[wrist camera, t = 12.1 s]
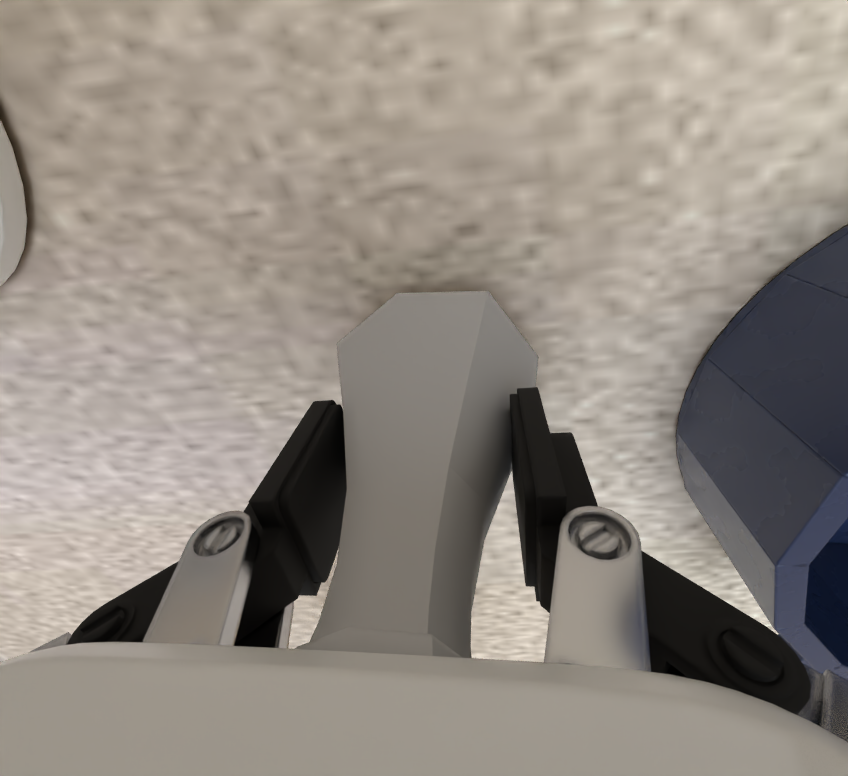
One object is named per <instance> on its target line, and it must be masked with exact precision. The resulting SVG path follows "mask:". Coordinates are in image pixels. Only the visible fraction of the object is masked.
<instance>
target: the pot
mask: <svg viewBox="0 0 848 776" xmlns="http://www.w3.org/2000/svg"><path fill="white" fill-rule="evenodd" d="M676 446H677V458H678V462H679V466H680V470H681V474H682V476H683V478H684V485H685V489H686V491H687V492H688V494H689V496H690V497H691V499H692V500H693V502H694V503H695V505H696V507H697V508H698V510H699V511H700V513H701V514H702V516H703V518H704V519H705V521H706V522H707V524H708V525H709V527H710V529H711V530H712V532H713V533H714V535H715V536H716V538H717V540H718V541H719V543H720V544H721V546H722V548H723V549H724V551H725V552H726V554H727V555H728V557H729V559H730V560H731V562H732V563H733V565H734V566H735V568H736V570H737V571H738V573H739V574H740V576H741V577H742V579H743V581H744V582H745V584H746V585H747V587H748V588H749V590H750V592H751V593H752V595H753V596H754V598H755V599H756V601H757V603H758V604H759V606H760V607H761V609H762V611H763V612H764V614H765V615H766V617H767V618H768V620H769V622H770V623H771V625H772V626H773V628H774V629H775V630H776V631H777V632H778V633H779V634H778V636H780V637H781V638H782V639H783V640H784V641H785V642H786V643H787V644H788V645H789V646H790V647H791V648H792V649H793V650H794V652H795V653H796V654H797V656H798V657H799V659H800V660H801V662H802V663H803V664H805V665H807V666H809V667H810V668H812V669H814V670H816V671H818V672H820V673H821V674H823V673H824V672H825V670H826V669H828V670H830V671H832V672H833V673H835V674H837V675H839V676H841V677H843V678H845V679H847V680H848V225H847V226H845V227H844V228H842V229H840V230H839V231H837V232H835V233H834V234H832V235H831V236H830V237H828V238H827V239H825V240H824V241H822V242H821V243H820V244H818V245H817V246H815V247H814V248H813V249H811V250H810V251H808V252H807V253H805V254H804V255H803V256H801V257H800V258H798V259H797V260H796V261H795V262H793V263H792V264H791V265H790V266H789V267H787V268H786V269H785V270H784V271H783V272H781V273H780V274H779V275H778V276H777V277H776V278H774V279H773V280H772V281H771V282H770V283H768V284H767V285H766V286H765V287H764V288H763V289H762V290H761V291H760V292H759V293H758V294H757V295H756V296H755V297H754V298H753V299H752V300H751V301H750V302H749V303H748V304H747V305H746V306H745V307H744V308H743V309H742V310H741V311H740V312H739V313H738V314H737V315H736V316H735V317H734V319H733V320H732V321H731V322H730V323H729V325H728V326H727V327H726V328H725V330H724V331H723V332H722V333H721V335H720V336H719V337H718V338H717V339H716V341H715V342H714V344H713V345H712V347H711V348H710V350H709V351H708V353H707V354H706V356H705V357H704V359H703V360H702V362H701V364H700V365H699V367H698V369H697V371H696V373H695V375H694V377H693V379H692V381H691V383H690V385H689V387H688V389H687V391H686V394H685V398H684V401H683V404H682V407H681V410H680V413H679V419H678V426H677V433H676Z"/></svg>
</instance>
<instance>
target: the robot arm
mask: <svg viewBox="0 0 848 776" xmlns="http://www.w3.org/2000/svg"><path fill="white" fill-rule="evenodd" d="M26 227H27V215H26V206H25V197H24V188H23V183H22V179H21V176H20V172H19V169H18V165H17V162H16V158H15V155H14V151H13V148H12V145H11V143H10V140H9V138H8V136H7V133H6V131H5V129H4V126H3V124H2V122H1V120H0V286H1V285H3V283H4V282H5V281H6V280H7V279H8V278H9V277H10V275H11V274H12V273H13V272H14V271H15V270H16V267H17V265H18V262H19V260H20V257H21V255H22V252H23V250H24V246H25V236H26ZM510 415H511V427H512V472H513V482H514V491H515V499H516V508H517V516H518V525H519V533H520V542H521V550H522V559H523V567H524V576H525V583H526V586H535V593H536V601H540V605H541V606H542V607H543V608H544V609H546V610H547V611H548V612H549V613H550V616H549V624H548V632H547V641H546V649H545V657H544V663H543V662H529V661H511V660H494V659H476V658H458V657H440V656H423V655H405V654H385V653H366V652H347V651H327V650H307V649H288V644H289V637H290V630H291V623H292V616H293V609H294V602H293V601H295V600H296V599H298V596H299V595H314V596H317V593H318V590H319V587H320V584H321V582H326V580H327V579H328V576H329V574H330V571H331V568H332V565H333V562H334V559H335V556H336V553H337V550H338V547H339V544H340V536H341V529H342V521H343V514H344V507H345V499H346V492H347V479H346V459H345V438H344V418H343V409H342V407H341V405H339V404H338V405H336V403H335V402H334V401H333V400H327V401H315V402H313V403H312V405H311V406H310V408H309V409H308V411H307V412H306V414H305V415H304V417H303V418H302V420H301V422H300V423H299V425H298V426H297V428H296V429H295V431H294V432H293V434H292V435H291V437H290V439H289V440H288V442H287V443H286V445H285V446H284V448H283V449H282V451H281V452H280V454H279V456H278V457H277V459H276V460H275V462H274V463H273V465H272V466H271V468H270V470H269V471H268V473H267V474H266V476H265V477H264V479H263V480H262V482H261V483H260V485H259V487H258V488H257V490H256V491H255V493H254V494H253V496H252V497H251V499H250V500H249V504H248V506H247V507H246V509H245V510H244V512H241V511H229V512H225V513H222V514H219V515H217V516H215V517H213V518H211V519H209V520H208V521H206V522H205V523H204V524H202V525H201V526H200V527H199V528H198V529H197V530H196V531H195V532H194V533H193V534H192V536H191V537H190V539H189V541H188V542H187V544H186V547H185V549H184V551H183V553H182V556H181V558H180V560H179V561H178V562H177V563H175V564H173V565H171V566H170V567H168V568H166V569H165V570H163V571H161V572H159V573H158V574H156V575H154V576H152V577H151V578H149V579H147V580H146V581H144V582H142V583H140V584H139V585H137V586H135V587H134V588H132V589H130V590H128V591H127V592H125V593H123V594H121V595H120V596H118V597H116V598H115V599H113V600H111V601H109V602H108V603H106V604H104V605H103V606H101V607H100V608H99V609H97V610H96V611H94V612H93V613H92V614H91V615H90V616H88V617H87V618H86V619H85V620H84V621H83V622H82V623H81V624H80V625H79V627H78V628H77V629H76V630H75V631H74V633H73V634H72V635H71V634H70V633H69V632H68V633H66V634H64V635H62V636H60V637H58V638H56V639H54V640H52V641H50V642H48V643H46V644H44V645H42V646H40V647H38V648H36V649H34V650H32V651H30V652H29V653H26V654H22V655H20V656H17V657H14V658H11V659H8V660H5V661H2V662H0V776H848V680H847V679H845V678H843V677H841V676H839V675H837V674H835V673H833V672H832V671H830V670H828V669H826V670H825V672H824V673H823V674H821V673H820V672H818V671H816V670H814V669H812V668H810V667H809V666H807V665H805V664H803V663H802V662H801V660H800V659H799V657H798V656H797V654H796V653H795V652H794V650H793V649H792V648H791V647H790V646H789V645H788V644H787V643H786V642H785V641H784V640H783V639H782V638H781V637H780V636H778V635H777V634H775V633H774V632H773V631H771V630H770V629H769V628H767V627H766V626H764V625H763V624H761V623H759V622H758V621H756V620H755V619H753V618H751V617H750V616H748V615H746V614H745V613H743V612H741V611H740V610H738V609H736V608H735V607H733V606H732V605H730V604H728V603H727V602H725V601H723V600H722V599H720V598H718V597H717V596H715V595H713V594H712V593H710V592H709V591H707V590H705V589H704V588H702V587H700V586H699V585H697V584H695V583H694V582H692V581H690V580H689V579H687V578H686V577H684V576H682V575H681V574H679V573H677V572H676V571H674V570H672V569H671V568H669V567H667V566H666V565H664V564H662V563H661V562H659V561H658V560H656V559H654V558H653V557H651V556H649V555H648V554H646V553H644V552H643V551H641V542H640V539H639V535H638V532H637V531H636V529H635V528H634V527H633V525H632V524H631V523H630V522H629V521H628V520H627V519H625V518H624V517H623V516H622V515H620V514H618V513H616V512H614V511H612V510H609V509H606V508H602V507H598V505H597V502H596V499H595V496H594V493H593V491H592V488H591V485H590V482H589V479H588V476H587V473H586V471H585V468H584V465H583V462H582V459H581V456H580V453H579V451H578V448H577V445H576V442H575V439H574V437H573V434H572V433H571V432H569V433H550V432H549V428H548V424H547V420H546V417H545V413H544V409H543V406H542V402H541V398H540V394H539V391H538V388H537V387H531V388H517V394H510Z"/></svg>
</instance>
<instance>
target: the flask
mask: <svg viewBox="0 0 848 776" xmlns="http://www.w3.org/2000/svg"><path fill="white" fill-rule="evenodd" d="M337 351H338V365H339V375H340V384H341V394H342V404H343V418H344V438H345V459H346V479H347V492H346V499H345V507H344V514H343V521H342V529H341V536H340V544H339V551H338V559H337V565H336V569H335V572H334V575H333V578H332V581H331V584H330V588H329V591H328V594H327V597H326V600H325V604H324V607H323V610H322V613H321V616H320V619H319V623H318V625H317V627H316V629H315V631H314V633H313V636H312V638H311V640H310V642H309V643H306V644H303V645H301V646H298V647H297V648H295V649H307V650H327V651H347V652H366V653H385V654H405V655H423V656H440V657H458V658H471V647H470V645H471V611H472V605H473V599H474V594H475V588H476V583H477V577H478V572H479V566H480V561H481V555H482V549H483V544H484V540H485V537H486V534H487V532H488V529H489V527H490V524H491V522H492V519H493V516H494V514H495V511H496V509H497V506H498V503H499V501H500V498H501V496H502V493H503V491H504V488H505V485H506V483H507V480H508V478H509V475H510V473H511V471H512V427H511V415H510V394H517V388H531V387H535V385H536V376H537V366H538V356H537V355H536V353H535V352H534V351H533V349H532V348H531V347H530V345H529V344H528V343H527V341H526V340H525V339H524V337H523V336H522V335H521V333H520V332H519V331H518V330H517V328H516V327H515V326H514V324H513V323H512V322H511V320H510V319H509V318H508V316H507V315H506V314H505V312H504V311H503V310H502V308H501V307H500V306H499V304H498V303H497V302H496V301H495V299H494V298H493V297H492V295H491V294H490V293H489V291H460V292H420V293H397V294H395V295H394V296H393V297H392V298H391V299H389V300H388V301H387V302H386V303H385V304H383V305H382V306H381V307H380V308H379V309H377V310H376V311H375V312H374V313H373V314H371V315H370V316H369V317H368V318H367V319H365V320H364V321H363V322H362V323H361V324H359V325H358V326H357V327H356V328H355V329H353V330H352V331H351V332H350V333H349V334H347V335H346V336H345V337H344V338H343V339H341V340H340V341H339V342H338V343H337Z"/></svg>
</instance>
